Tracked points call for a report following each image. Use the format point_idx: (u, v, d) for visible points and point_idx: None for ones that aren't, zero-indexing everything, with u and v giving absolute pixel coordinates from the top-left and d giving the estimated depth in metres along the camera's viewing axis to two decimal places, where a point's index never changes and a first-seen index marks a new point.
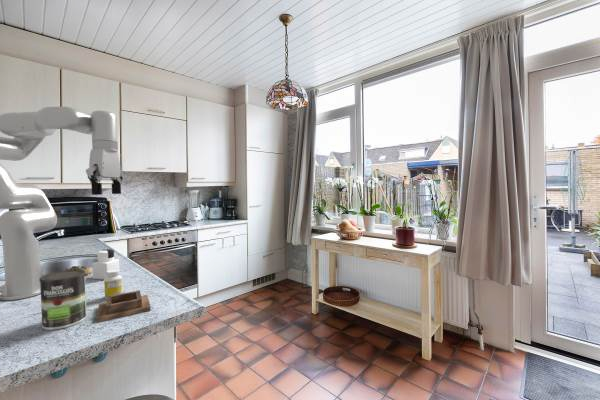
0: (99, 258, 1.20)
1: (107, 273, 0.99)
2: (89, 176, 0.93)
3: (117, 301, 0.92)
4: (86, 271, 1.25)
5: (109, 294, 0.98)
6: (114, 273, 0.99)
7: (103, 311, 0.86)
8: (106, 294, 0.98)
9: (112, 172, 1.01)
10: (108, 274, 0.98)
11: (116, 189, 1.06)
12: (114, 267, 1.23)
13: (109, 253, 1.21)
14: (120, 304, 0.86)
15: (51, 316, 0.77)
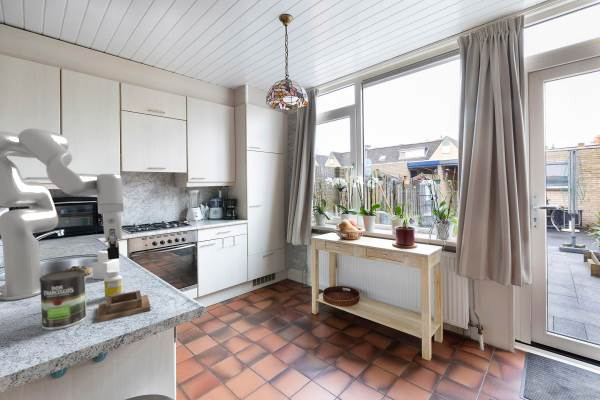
0: (99, 258, 1.20)
1: (107, 273, 0.99)
2: None
3: (117, 301, 0.92)
4: (86, 271, 1.25)
5: (109, 294, 0.98)
6: (114, 273, 0.99)
7: (103, 311, 0.86)
8: (106, 294, 0.98)
9: None
10: (108, 274, 0.98)
11: None
12: (114, 267, 1.23)
13: None
14: (120, 304, 0.86)
15: (51, 316, 0.77)
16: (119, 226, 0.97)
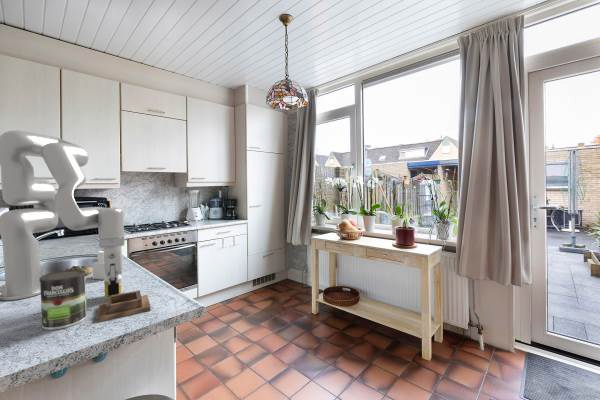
0: (99, 258, 1.20)
1: None
2: None
3: (117, 301, 0.92)
4: (86, 271, 1.25)
5: None
6: None
7: (103, 311, 0.86)
8: (106, 294, 0.98)
9: None
10: None
11: None
12: None
13: None
14: (120, 304, 0.86)
15: (51, 316, 0.77)
16: (119, 261, 0.97)
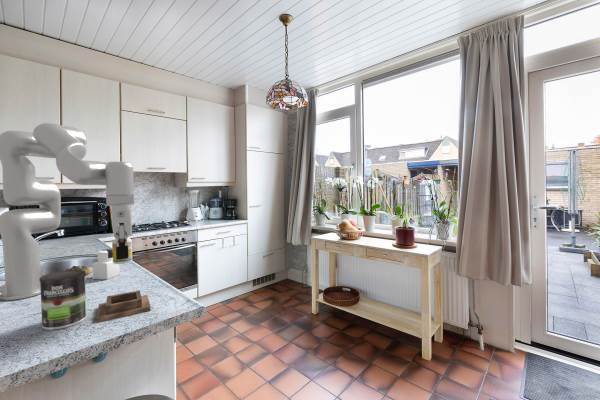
0: (99, 258, 1.20)
1: None
2: None
3: (117, 301, 0.92)
4: (86, 271, 1.26)
5: None
6: None
7: (103, 311, 0.86)
8: (114, 258, 0.87)
9: None
10: (116, 236, 0.88)
11: None
12: (114, 267, 1.23)
13: (109, 253, 1.21)
14: (120, 304, 0.86)
15: (51, 316, 0.77)
16: (129, 220, 0.87)
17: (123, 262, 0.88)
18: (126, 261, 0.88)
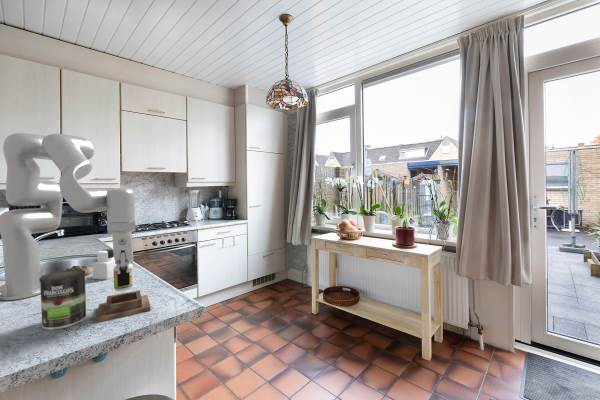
0: (99, 258, 1.20)
1: None
2: None
3: (117, 301, 0.92)
4: (87, 271, 1.26)
5: None
6: None
7: (103, 311, 0.86)
8: (116, 285, 0.88)
9: None
10: None
11: None
12: None
13: (109, 253, 1.21)
14: (120, 304, 0.86)
15: (51, 316, 0.77)
16: (130, 247, 0.87)
17: (124, 289, 0.88)
18: (127, 287, 0.89)
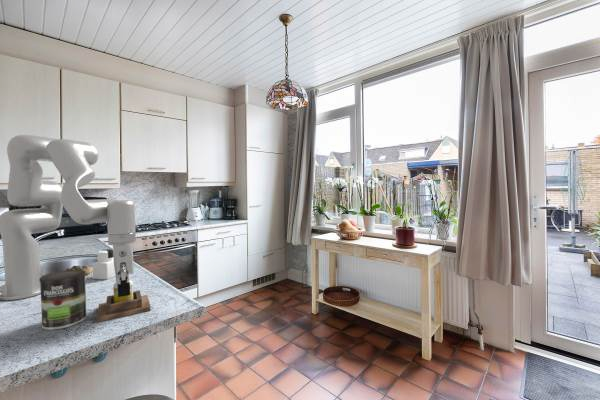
0: (99, 258, 1.20)
1: (116, 278, 0.89)
2: None
3: None
4: (87, 271, 1.26)
5: (118, 302, 0.88)
6: None
7: (103, 311, 0.86)
8: (115, 302, 0.88)
9: None
10: None
11: None
12: None
13: (109, 253, 1.21)
14: (120, 304, 0.86)
15: (51, 316, 0.77)
16: (131, 259, 0.87)
17: None
18: None
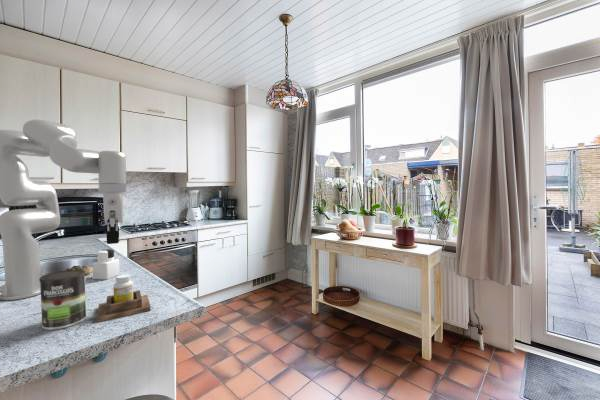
0: (99, 258, 1.20)
1: (116, 279, 0.89)
2: None
3: None
4: (87, 271, 1.26)
5: (118, 302, 0.88)
6: (124, 279, 0.89)
7: (103, 311, 0.86)
8: (115, 302, 0.88)
9: None
10: (118, 280, 0.88)
11: None
12: (114, 267, 1.23)
13: (109, 253, 1.21)
14: (120, 304, 0.86)
15: (51, 316, 0.77)
16: (120, 208, 0.89)
17: None
18: None
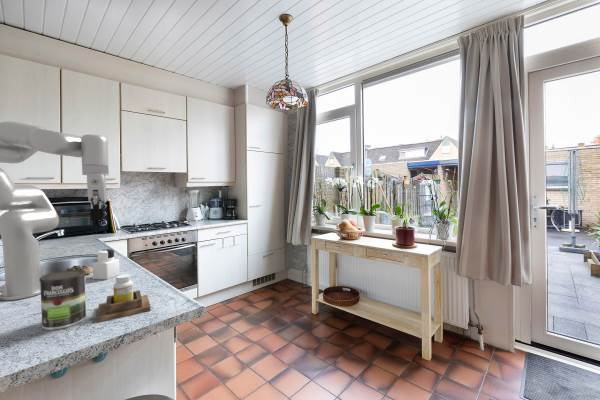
0: (99, 258, 1.20)
1: (116, 279, 0.89)
2: None
3: None
4: (87, 271, 1.26)
5: (118, 302, 0.88)
6: (124, 279, 0.89)
7: (103, 311, 0.86)
8: (115, 302, 0.88)
9: None
10: (118, 280, 0.88)
11: None
12: (114, 267, 1.23)
13: (109, 253, 1.21)
14: (120, 304, 0.86)
15: (51, 316, 0.77)
16: (103, 188, 0.96)
17: None
18: None
